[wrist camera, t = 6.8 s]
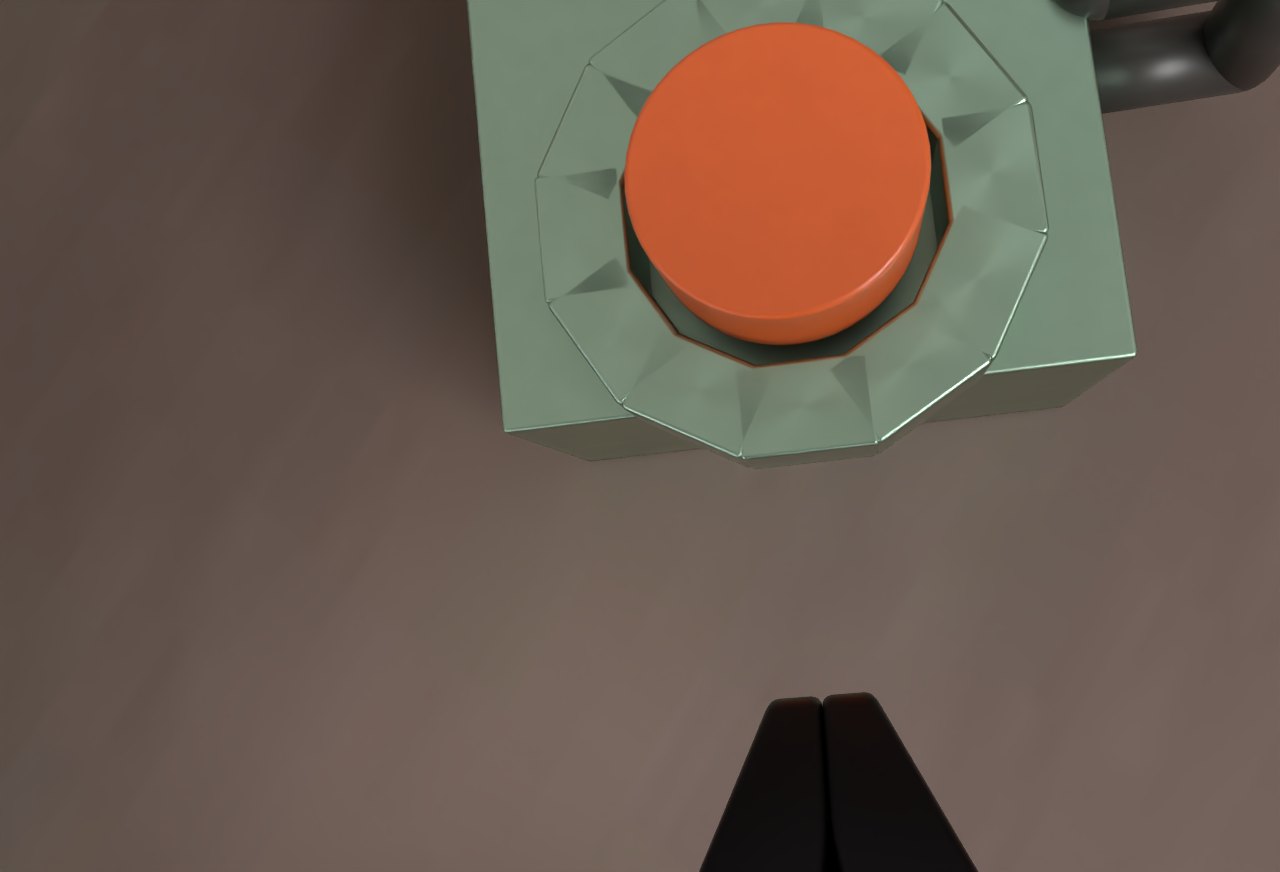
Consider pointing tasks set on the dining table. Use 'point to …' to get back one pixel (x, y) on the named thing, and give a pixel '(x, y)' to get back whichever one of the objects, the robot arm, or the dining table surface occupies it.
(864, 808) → the robot arm
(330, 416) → the dining table surface
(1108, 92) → the handle
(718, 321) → the push button
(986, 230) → the green button housing
